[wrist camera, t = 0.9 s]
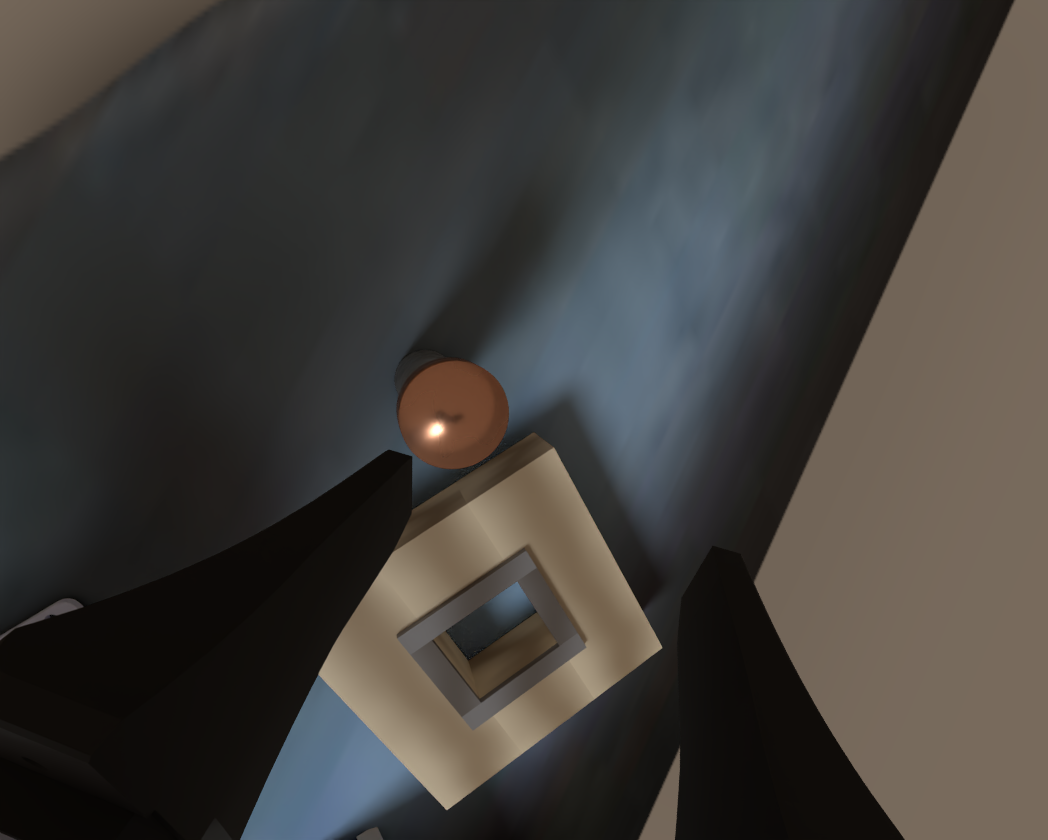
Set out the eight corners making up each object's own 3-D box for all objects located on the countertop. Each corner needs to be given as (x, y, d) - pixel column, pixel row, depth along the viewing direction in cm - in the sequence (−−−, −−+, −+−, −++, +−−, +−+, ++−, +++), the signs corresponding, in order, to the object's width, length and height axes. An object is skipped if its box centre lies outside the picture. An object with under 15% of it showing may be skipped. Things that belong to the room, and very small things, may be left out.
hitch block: (438, 763, 30) (447, 815, 27) (284, 591, 25) (274, 632, 22) (636, 617, 32) (665, 651, 29) (533, 432, 27) (556, 449, 24)
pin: (412, 431, 25) (436, 489, 17) (370, 366, 24) (376, 399, 16) (476, 392, 26) (527, 431, 18) (438, 327, 24) (476, 340, 17)
